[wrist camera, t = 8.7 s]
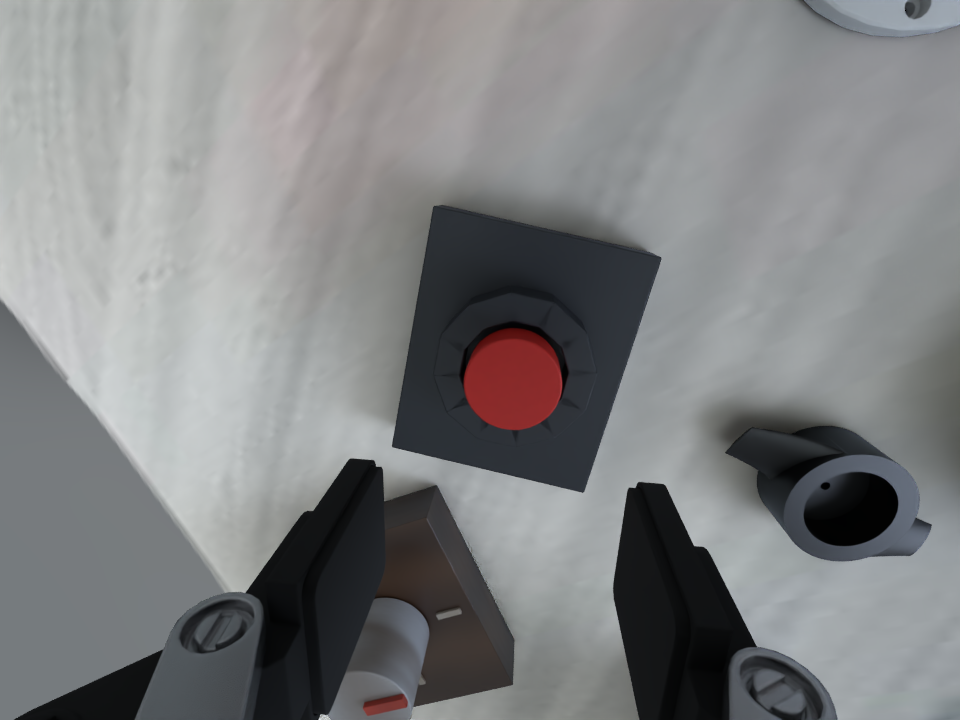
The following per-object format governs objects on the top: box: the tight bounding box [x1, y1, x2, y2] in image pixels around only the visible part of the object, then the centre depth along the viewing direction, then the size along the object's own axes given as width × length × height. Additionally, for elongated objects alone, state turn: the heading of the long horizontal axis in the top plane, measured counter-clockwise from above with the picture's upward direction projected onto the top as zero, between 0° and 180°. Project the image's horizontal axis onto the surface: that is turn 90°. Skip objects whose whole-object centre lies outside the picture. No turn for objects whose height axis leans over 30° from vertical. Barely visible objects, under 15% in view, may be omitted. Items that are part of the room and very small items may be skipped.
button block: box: [392, 205, 661, 493], centre depth 23 cm, size 12×10×4 cm
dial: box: [328, 598, 429, 720], centre depth 25 cm, size 4×4×5 cm
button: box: [464, 328, 562, 430], centre depth 21 cm, size 4×4×2 cm
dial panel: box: [374, 486, 514, 707], centre depth 29 cm, size 12×10×3 cm
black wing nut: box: [725, 426, 932, 561], centre depth 24 cm, size 8×10×3 cm
